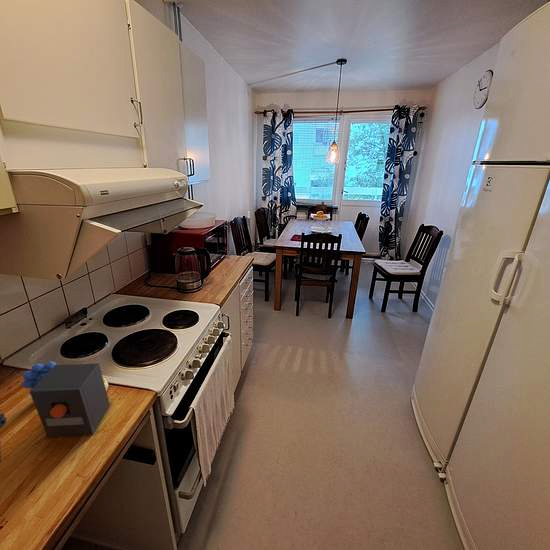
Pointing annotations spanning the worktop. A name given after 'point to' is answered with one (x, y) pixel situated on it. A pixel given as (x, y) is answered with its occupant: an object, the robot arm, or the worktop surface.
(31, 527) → the worktop surface
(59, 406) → the power button
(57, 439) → the worktop surface
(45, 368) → the grapes
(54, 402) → the push button control box
